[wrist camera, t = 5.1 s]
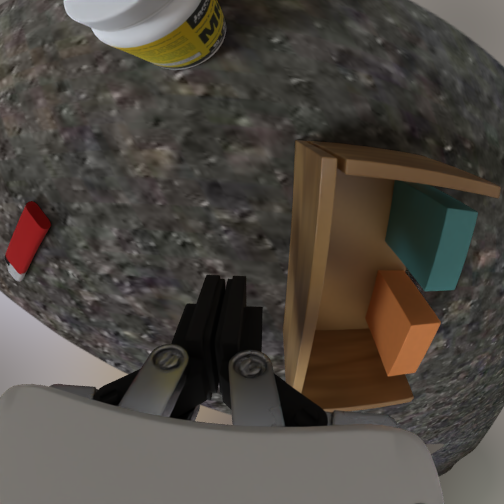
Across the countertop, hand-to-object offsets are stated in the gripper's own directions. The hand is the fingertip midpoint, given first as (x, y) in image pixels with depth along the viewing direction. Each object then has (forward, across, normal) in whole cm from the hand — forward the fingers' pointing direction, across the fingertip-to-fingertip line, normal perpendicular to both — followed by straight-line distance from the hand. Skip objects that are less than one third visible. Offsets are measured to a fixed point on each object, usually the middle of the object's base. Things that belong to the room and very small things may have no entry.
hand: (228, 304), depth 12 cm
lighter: (+6, +18, 0) cm, 19 cm away
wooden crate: (+6, -7, 0) cm, 9 cm away
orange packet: (+5, -10, +3) cm, 11 cm away
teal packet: (+5, -10, -3) cm, 11 cm away
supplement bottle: (+6, +3, -13) cm, 15 cm away
